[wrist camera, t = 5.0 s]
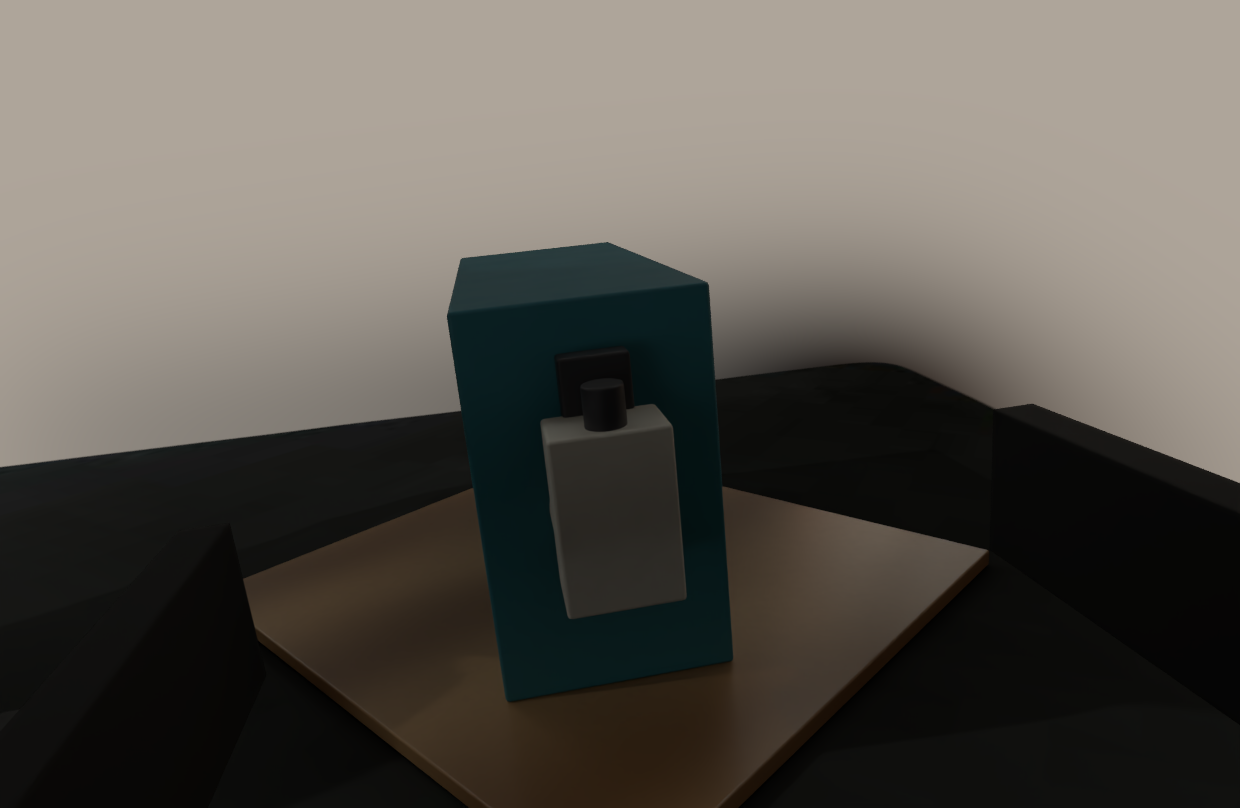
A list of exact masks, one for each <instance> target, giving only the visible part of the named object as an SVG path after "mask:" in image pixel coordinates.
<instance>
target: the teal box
mask: <svg viewBox="0 0 1240 808" xmlns="http://www.w3.org/2000/svg"><path fill="white" fill-rule="evenodd" d="M447 320H448V327H449V333H450V340H451V347H452V353H453V359H454V366H455V373H456V379H457V386H458V392H459V399H460V405H461V412H462V418H463V425H464V431H465V438H466V444H467V451H468V458H469V464H470V471H471V477H472V484H473V490H474V497H475V503H476V510H477V516H478V523H479V529H480V536H481V542H482V549H483V555H484V562H485V569H486V575H487V582H488V588H489V595H490V601H491V608H492V614H493V621H494V627H495V634H496V640H497V647H498V653H499V660H500V666H501V673H502V680H503V686H504V693H505V699H506V700H507V702H512V701H517V700H523V699H528V698H533V697H539V696H544V695H550V694H555V693H561V692H566V691H572V690H577V689H582V688H588V687H593V686H599V685H604V684H610V683H615V682H621V681H626V680H631V679H637V678H642V677H648V676H653V675H659V674H664V673H669V672H675V671H680V670H686V669H691V668H697V667H702V666H708V665H713V664H718V663H724V662H729V661H732V660H733V642H732V627H731V612H730V597H729V582H728V567H727V552H726V537H725V522H724V507H723V492H722V476H721V461H720V446H719V431H718V416H717V401H716V386H715V371H714V357H713V341H712V326H711V311H710V297H709V285H708V283H707V282H705V281H703V280H700V279H698V278H695V277H693V276H690V275H687V274H685V273H683V272H680V271H678V270H675V269H673V268H670V267H668V266H665V265H663V264H661V263H658V262H656V261H653V260H651V259H648V258H646V257H643V256H641V255H638V254H636V253H633V252H631V251H628V250H626V249H623V248H621V247H618V246H616V245H613V244H611V243H608V242H606V243H597V244H587V245H578V246H570V247H560V248H552V249H542V250H533V251H525V252H515V253H506V254H497V255H487V256H479V257H469V258H462V259H461V260H460V265H459V268H458V273H457V277H456V281H455V285H454V289H453V294H452V298H451V302H450V306H449V310H448V314H447Z"/></svg>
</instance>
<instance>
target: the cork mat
mask: <svg viewBox="0 0 1240 808" xmlns="http://www.w3.org/2000/svg"><path fill="white" fill-rule="evenodd" d="M722 492H723V507H724V522H725V537H726V552H727V567H728V582H729V597H730V612H731V627H732V642H733V660H732V661H729V662H724V663H718V664H713V665H708V666H702V667H697V668H691V669H686V670H680V671H675V672H669V673H664V674H659V675H653V676H648V677H642V678H637V679H631V680H626V681H621V682H615V683H610V684H604V685H599V686H593V687H588V688H582V689H577V690H572V691H566V692H561V693H555V694H550V695H544V696H539V697H533V698H528V699H523V700H517V701H512V702H507V700H506V699H505V693H504V686H503V680H502V673H501V666H500V660H499V653H498V647H497V640H496V634H495V627H494V621H493V614H492V608H491V601H490V595H489V588H488V582H487V575H486V569H485V562H484V555H483V549H482V542H481V536H480V529H479V523H478V516H477V510H476V503H475V497H474V490H473V488H471V489H469V490H466V491H464V492H461V493H459V494H456V495H454V496H451V497H449V498H446V499H444V500H441V501H439V502H436V503H434V504H431V505H429V506H426V507H424V508H421V509H419V510H416V511H413V512H411V513H408V514H406V515H403V516H401V517H398V518H396V519H393V520H391V521H388V522H386V523H383V524H381V525H378V526H376V527H373V528H371V529H368V530H366V531H363V532H361V533H358V534H355V535H353V536H350V537H348V538H345V539H343V540H340V541H338V542H335V543H333V544H330V545H328V546H325V547H323V548H320V549H318V550H315V551H313V552H310V553H308V554H305V555H303V556H300V557H297V558H295V559H292V560H290V561H287V562H285V563H282V564H280V565H277V566H275V567H272V568H270V569H267V570H265V571H262V572H260V573H257V574H255V575H252V576H250V577H247V578H245V579H243V581H244V585H245V589H246V593H247V597H248V602H249V606H250V610H251V614H252V618H253V622H254V626H255V631H256V635H257V639H258V641H259V642H261V643H262V644H263V645H264V646H266V647H267V648H268V649H269V650H271V651H272V652H273V653H274V654H276V655H277V656H278V657H280V658H281V659H282V660H283V661H285V662H286V663H287V664H288V665H290V666H291V667H292V668H293V669H295V670H296V671H297V672H298V673H300V674H301V675H302V676H303V677H305V678H306V679H307V680H309V681H310V682H311V683H312V684H314V685H315V686H316V687H317V688H319V689H320V690H321V691H322V692H324V693H325V694H326V695H327V696H329V697H330V698H331V699H333V700H334V701H335V702H336V703H338V704H339V705H340V706H341V707H343V708H344V709H345V710H346V711H348V712H349V713H350V714H351V715H353V716H354V717H355V718H356V719H358V720H359V721H360V722H362V723H363V724H364V725H365V726H367V727H368V728H369V729H370V730H372V731H373V732H374V733H375V734H377V735H378V736H379V737H380V738H382V739H383V740H384V741H385V742H387V743H388V744H389V745H391V746H392V747H393V748H394V749H396V750H397V751H398V752H399V753H401V754H402V755H403V756H404V757H406V758H407V759H408V760H409V761H411V762H412V763H413V764H415V765H416V766H417V767H418V768H420V769H421V770H422V771H423V772H425V773H426V774H427V775H428V776H430V777H431V778H432V779H433V780H435V781H436V782H437V783H438V784H440V785H441V786H442V787H444V788H445V789H446V790H447V791H449V792H450V793H451V794H452V795H454V796H455V797H456V798H457V799H459V800H460V801H461V802H462V803H464V804H465V805H466V806H468V807H469V808H739V807H740V806H741V805H742V804H743V803H744V802H745V801H746V800H747V799H748V798H749V797H750V796H751V795H752V794H753V793H754V792H755V791H756V790H757V789H758V788H759V787H760V786H761V785H762V784H763V783H764V782H765V781H766V780H767V779H768V778H769V777H770V776H771V775H772V774H773V773H774V772H776V771H777V770H778V769H779V768H780V767H781V766H782V765H783V764H784V763H785V762H786V761H787V760H788V759H789V758H790V757H791V756H792V755H793V754H794V753H795V752H796V751H797V750H798V749H799V748H800V747H801V746H802V745H803V744H804V743H805V742H806V741H807V740H808V739H809V738H810V737H811V736H812V735H813V734H815V733H816V732H817V731H818V730H819V729H820V728H821V727H822V726H823V725H824V724H825V723H826V722H827V721H828V720H829V719H830V718H831V717H832V716H833V715H834V714H835V713H836V712H837V711H838V710H839V709H840V708H841V707H842V706H843V705H844V704H845V703H846V702H847V701H848V700H849V699H850V698H851V697H852V696H854V695H855V694H856V693H857V692H858V691H859V690H860V689H861V688H862V687H863V686H864V685H865V684H866V683H867V682H868V681H869V680H870V679H871V678H872V677H873V676H874V675H875V674H876V673H877V672H878V671H879V670H880V669H881V668H882V667H883V666H884V665H885V664H886V663H887V662H888V661H889V660H890V659H891V658H893V657H894V656H895V655H896V654H897V653H898V652H899V651H900V650H901V649H902V648H903V647H904V646H905V645H906V644H907V643H908V642H909V641H910V640H911V639H912V638H913V637H914V636H915V635H916V634H917V633H918V632H919V631H920V630H921V629H922V628H923V627H924V626H925V625H926V624H927V623H928V622H929V621H931V620H932V619H933V618H934V617H935V616H936V615H937V614H938V613H939V612H940V611H941V610H942V609H943V608H944V607H945V606H946V605H947V604H948V603H949V602H950V601H951V600H952V599H953V598H954V597H955V596H956V595H957V594H958V593H959V592H960V591H961V590H962V589H963V588H964V587H965V586H966V585H967V584H968V583H970V582H971V581H972V580H973V579H974V578H975V577H976V576H977V575H978V574H979V573H980V572H981V571H982V570H983V569H984V568H985V567H986V566H987V565H988V564H989V551H988V550H985V549H980V548H976V547H972V546H968V545H964V544H960V543H955V542H951V541H947V540H943V539H939V538H935V537H931V536H926V535H922V534H918V533H914V532H910V531H906V530H901V529H897V528H893V527H889V526H885V525H881V524H876V523H872V522H868V521H864V520H860V519H856V518H852V517H847V516H843V515H839V514H835V513H831V512H827V511H822V510H818V509H814V508H810V507H806V506H802V505H797V504H793V503H789V502H785V501H781V500H777V499H772V498H768V497H764V496H760V495H756V494H752V493H748V492H743V491H739V490H735V489H731V488H727V487H723V486H722Z"/></svg>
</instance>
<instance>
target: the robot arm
mask: <svg viewBox="0 0 1240 808" xmlns="http://www.w3.org/2000/svg"><path fill="white" fill-rule="evenodd" d="M990 550H991V551H993V552H994V553H995V554H997V555H998V556H1000V557H1001V558H1003V559H1004V560H1005V561H1007V562H1008V563H1010V564H1011V565H1013V566H1014V567H1015V568H1017V569H1018V570H1020V571H1021V572H1023V573H1024V574H1025V575H1027V576H1028V577H1030V578H1031V579H1033V580H1034V581H1035V582H1037V583H1038V584H1040V585H1041V586H1043V587H1044V588H1045V589H1047V590H1048V591H1050V592H1051V593H1053V594H1054V595H1055V596H1057V597H1058V598H1060V599H1061V600H1063V601H1064V602H1065V603H1067V604H1068V605H1070V606H1071V607H1073V608H1074V609H1075V610H1077V611H1078V612H1080V613H1081V614H1083V615H1084V616H1085V617H1087V618H1088V619H1090V620H1091V621H1093V622H1094V623H1095V624H1097V625H1098V626H1100V627H1101V628H1102V629H1104V630H1105V631H1107V632H1108V633H1110V634H1111V635H1112V636H1114V637H1115V638H1117V639H1118V640H1120V641H1121V642H1122V643H1124V644H1125V645H1127V646H1128V647H1130V648H1131V649H1132V650H1134V651H1135V652H1137V653H1138V654H1140V655H1141V656H1142V657H1144V658H1145V659H1147V660H1148V661H1150V662H1151V663H1152V664H1154V665H1155V666H1157V667H1158V668H1160V669H1161V670H1162V671H1164V672H1165V673H1167V674H1168V675H1170V676H1171V677H1172V678H1174V679H1175V680H1177V681H1178V682H1180V683H1181V684H1182V685H1184V686H1185V687H1187V688H1188V689H1190V690H1191V691H1192V692H1194V693H1195V694H1197V695H1198V696H1200V697H1201V698H1202V699H1204V700H1205V701H1207V702H1208V703H1210V704H1211V705H1212V706H1214V707H1215V708H1217V709H1218V710H1220V711H1221V712H1222V713H1224V714H1225V715H1227V716H1228V717H1229V718H1231V719H1232V720H1234V721H1235V722H1237V723H1238V724H1239V725H1240V483H1238V482H1235V481H1233V480H1230V479H1227V478H1225V477H1222V476H1220V475H1217V474H1214V473H1211V472H1209V471H1207V470H1204V469H1201V468H1199V467H1196V466H1193V465H1191V464H1188V463H1186V462H1183V461H1181V460H1178V459H1175V458H1173V457H1170V456H1168V455H1165V454H1162V453H1160V452H1157V451H1154V450H1152V449H1149V448H1147V447H1144V446H1141V445H1139V444H1136V443H1134V442H1131V441H1128V440H1126V439H1123V438H1121V437H1118V436H1115V435H1113V434H1110V433H1107V432H1105V431H1102V430H1099V429H1097V428H1094V427H1092V426H1089V425H1087V424H1084V423H1081V422H1079V421H1076V420H1073V419H1071V418H1068V417H1066V416H1063V415H1061V414H1058V413H1055V412H1052V411H1050V410H1047V409H1045V408H1042V407H1040V406H1037V405H1034V404H1027V405H1021V406H1014V407H1008V408H1001V409H994V410H993V448H992V488H991V529H990ZM265 676H266V672H265V668H264V664H263V660H262V655H261V651H260V647H259V643H258V639H257V635H256V631H255V626H254V622H253V618H252V614H251V610H250V606H249V602H248V597H247V593H246V589H245V585H244V581H243V577H242V573H241V568H240V564H239V560H238V556H237V552H236V548H235V544H234V539H233V535H232V531H231V527H230V523H225V524H218V525H212V526H205V527H198V528H191V529H185V530H178V532H177V533H176V534H175V535H174V536H173V537H172V538H171V539H170V541H169V542H168V543H167V544H166V545H165V546H164V547H163V548H162V550H161V551H160V552H159V553H158V554H157V555H156V556H155V557H154V559H153V560H152V561H151V562H150V563H149V564H148V565H147V566H146V568H145V569H144V570H143V571H142V572H141V573H140V574H139V575H138V577H137V578H136V579H135V580H134V581H133V582H132V583H131V584H130V586H129V587H128V588H127V589H126V590H125V591H124V592H123V594H122V595H121V596H120V597H119V598H118V599H117V600H116V601H115V603H114V604H113V605H112V606H111V607H110V608H109V609H108V610H107V612H106V613H105V614H104V615H103V616H102V617H101V618H100V619H99V621H98V622H97V623H96V624H95V625H94V626H93V627H92V628H91V630H90V631H89V632H88V633H87V634H86V635H85V636H84V637H83V639H82V640H81V641H80V642H79V643H78V644H77V645H76V646H75V648H74V649H73V650H72V651H71V652H70V653H69V654H68V655H67V657H66V658H65V659H64V660H63V661H62V662H61V663H60V664H59V666H58V667H57V668H56V669H55V670H54V671H53V672H52V673H51V675H50V676H49V677H48V678H47V679H46V680H45V681H44V682H43V684H42V685H41V686H40V687H39V688H38V689H37V690H36V692H35V693H34V694H33V695H32V696H31V697H30V698H29V699H28V701H27V702H26V703H25V704H24V705H23V706H22V707H21V708H20V709H18V710H13V711H7V712H2V713H1V714H0V808H208V806H209V803H210V801H211V799H212V797H213V794H214V792H215V790H216V788H217V785H218V783H219V781H220V778H221V776H222V774H223V772H224V769H225V767H226V765H227V763H228V760H229V758H230V756H231V753H232V751H233V749H234V747H235V744H236V742H237V740H238V738H239V735H240V733H241V731H242V729H243V726H244V724H245V722H246V719H247V717H248V715H249V713H250V710H251V708H252V706H253V704H254V701H255V699H256V697H257V695H258V692H259V690H260V688H261V685H262V683H263V681H264V679H265Z"/></svg>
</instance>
